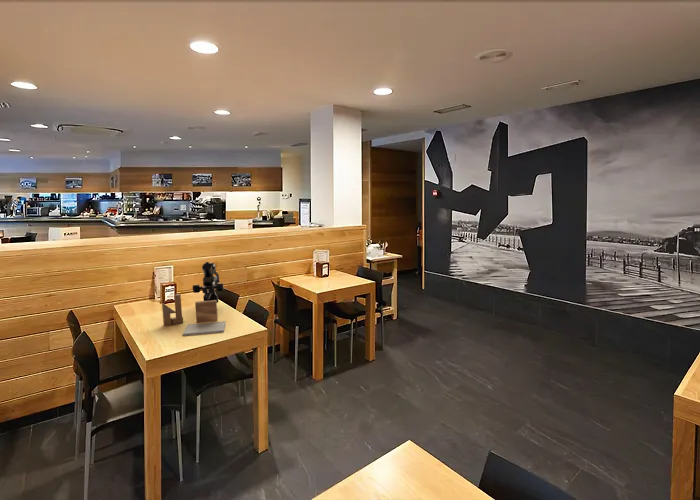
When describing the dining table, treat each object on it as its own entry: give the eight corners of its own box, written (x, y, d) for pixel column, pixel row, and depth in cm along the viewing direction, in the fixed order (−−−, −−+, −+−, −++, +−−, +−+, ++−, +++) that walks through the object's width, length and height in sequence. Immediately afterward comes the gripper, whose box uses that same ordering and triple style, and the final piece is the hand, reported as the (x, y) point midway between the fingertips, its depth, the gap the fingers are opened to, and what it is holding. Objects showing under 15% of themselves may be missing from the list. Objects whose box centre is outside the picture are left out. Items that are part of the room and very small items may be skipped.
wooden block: (163, 325, 245) (161, 296, 242) (181, 321, 251) (179, 293, 249) (165, 326, 242) (162, 297, 239) (183, 322, 248) (181, 294, 246)
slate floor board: (187, 325, 242) (187, 323, 242) (225, 322, 247) (225, 320, 247) (182, 335, 225) (182, 333, 224) (223, 332, 230) (223, 329, 230)
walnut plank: (197, 323, 246) (195, 301, 245) (217, 321, 249) (216, 300, 247) (196, 325, 244) (195, 302, 242) (217, 323, 246) (215, 301, 244)
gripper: (191, 272, 256) (190, 293, 247) (222, 271, 260) (221, 291, 251) (194, 282, 265) (193, 302, 256) (223, 280, 269) (223, 300, 260)
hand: (207, 299), depth 255 cm, fingers closed
